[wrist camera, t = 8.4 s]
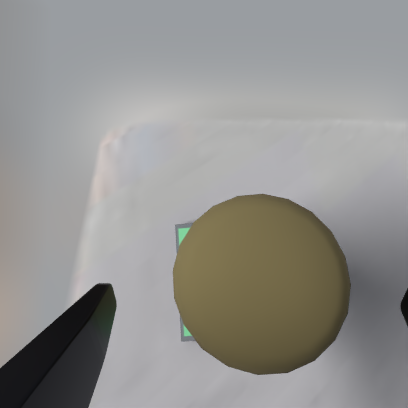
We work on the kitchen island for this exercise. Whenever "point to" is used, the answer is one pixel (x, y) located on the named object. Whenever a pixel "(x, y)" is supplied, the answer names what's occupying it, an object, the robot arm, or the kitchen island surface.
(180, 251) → the cork
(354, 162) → the kitchen island surface
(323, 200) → the kitchen island surface
